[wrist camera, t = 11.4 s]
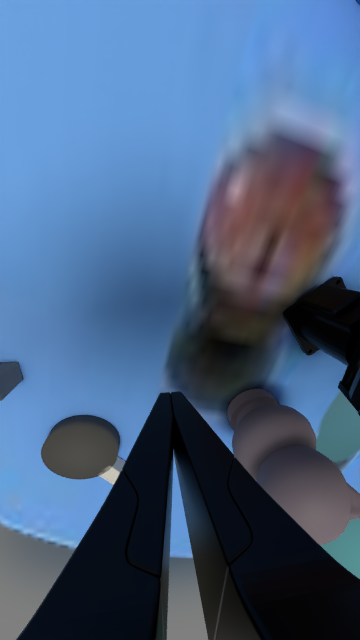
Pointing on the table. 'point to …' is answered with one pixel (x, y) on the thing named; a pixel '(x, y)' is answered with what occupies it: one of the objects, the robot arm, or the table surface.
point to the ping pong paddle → (83, 449)
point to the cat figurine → (291, 464)
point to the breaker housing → (9, 377)
